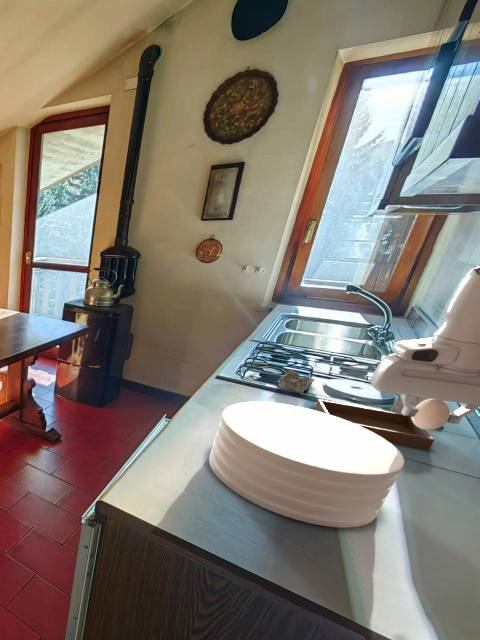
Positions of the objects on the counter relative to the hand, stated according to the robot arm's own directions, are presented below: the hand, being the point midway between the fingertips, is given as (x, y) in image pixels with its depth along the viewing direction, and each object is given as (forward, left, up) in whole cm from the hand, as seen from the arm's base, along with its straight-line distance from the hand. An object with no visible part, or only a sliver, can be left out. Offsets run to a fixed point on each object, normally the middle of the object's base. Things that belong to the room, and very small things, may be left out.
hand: (428, 418), depth 78 cm
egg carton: (+11, -48, -14) cm, 52 cm away
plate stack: (+21, +15, -14) cm, 29 cm away
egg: (0, 0, -3) cm, 2 cm away
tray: (-1, -24, -14) cm, 28 cm away
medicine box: (-14, -42, -14) cm, 47 cm away
